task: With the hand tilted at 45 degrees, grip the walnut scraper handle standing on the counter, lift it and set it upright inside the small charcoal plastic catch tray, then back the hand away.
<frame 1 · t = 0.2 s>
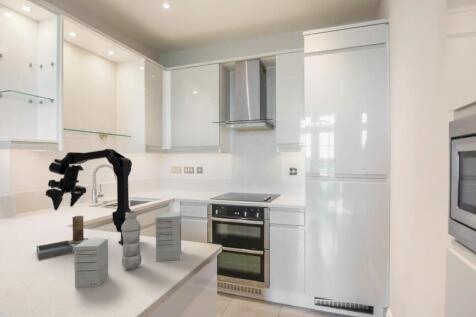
hand: (63, 208, 125), 16 cm above the counter, tool tilted 15°, fingers open, 9 cm apart
supplement box 2: (169, 256, 103), on the counter
supplement box: (92, 282, 82), on the counter
plastic bottle: (131, 268, 92), on the counter
scraper handle: (78, 241, 122), on the counter
catch tray: (54, 251, 109), on the counter
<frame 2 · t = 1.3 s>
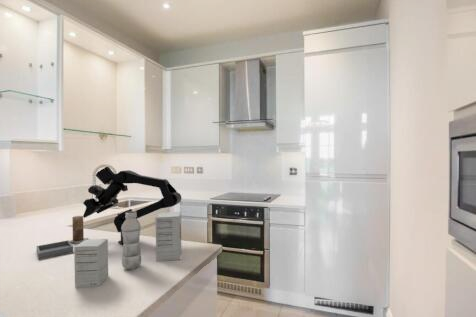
hand: (90, 214, 122), 13 cm above the counter, tool tilted 45°, fingers open, 9 cm apart
nothing on the counter moved.
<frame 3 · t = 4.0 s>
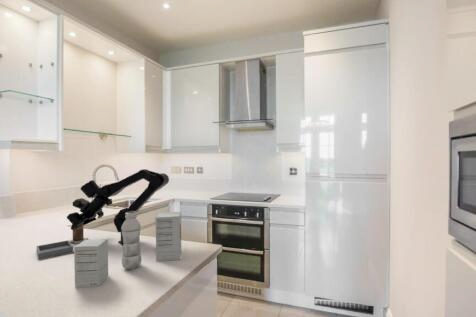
hand: (75, 227, 123), 7 cm above the counter, tool tilted 45°, fingers closed on scraper handle, 4 cm apart
scraper handle: (78, 241, 122), on the counter, touching gripper
everything else where it was.
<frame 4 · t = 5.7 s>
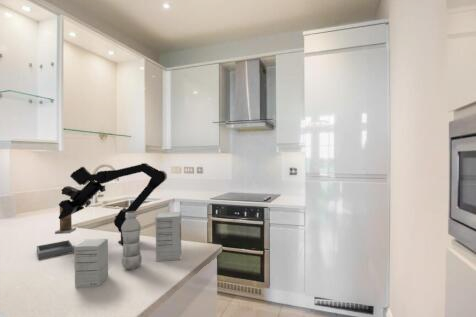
hand: (62, 217, 116), 13 cm above the counter, tool tilted 45°, fingers closed on scraper handle, 4 cm apart
scraper handle: (65, 231, 116), point 7 cm above the counter, touching gripper
everything else where it was.
when the fingers open (8 cm above the counter, at t = 7.7 s): scraper handle stays where it is, resting on catch tray.
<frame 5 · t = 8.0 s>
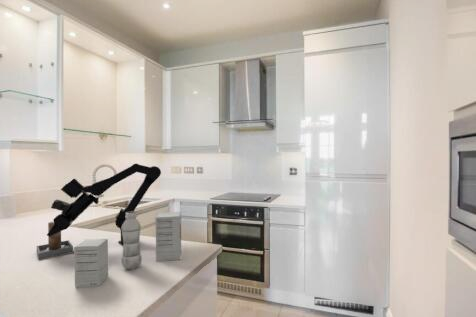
hand: (50, 233, 109), 8 cm above the counter, tool tilted 45°, fingers open, 8 cm apart
scraper handle: (55, 250, 109), point 1 cm above the counter, touching catch tray
everything else where it was.
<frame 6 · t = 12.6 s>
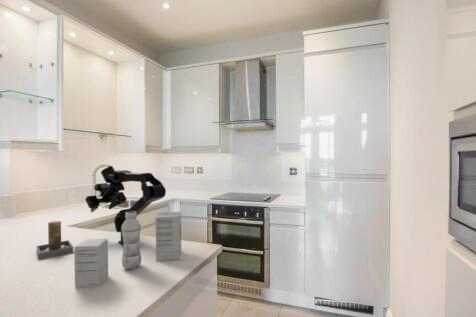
hand: (100, 210, 132), 13 cm above the counter, tool tilted 45°, fingers open, 9 cm apart
nothing on the counter moved.
at the end: scraper handle 0.1 cm off-centre on the catch tray, point 0.6 cm above the catch tray's base; scraper handle tilted 0°; the gripper is holding nothing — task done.
